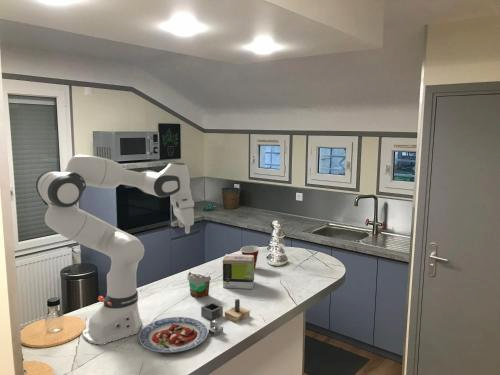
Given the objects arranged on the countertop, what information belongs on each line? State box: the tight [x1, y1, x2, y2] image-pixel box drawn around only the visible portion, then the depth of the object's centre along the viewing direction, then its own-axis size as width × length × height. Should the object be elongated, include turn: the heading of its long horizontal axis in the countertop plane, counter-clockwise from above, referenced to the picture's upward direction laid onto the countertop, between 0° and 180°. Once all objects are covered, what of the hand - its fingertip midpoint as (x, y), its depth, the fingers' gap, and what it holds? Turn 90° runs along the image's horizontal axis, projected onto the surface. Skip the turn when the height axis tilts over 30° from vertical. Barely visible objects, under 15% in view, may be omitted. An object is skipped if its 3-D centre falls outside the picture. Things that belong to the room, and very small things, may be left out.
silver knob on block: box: [208, 319, 224, 338], centre depth 158 cm, size 5×3×5 cm, turn 139°
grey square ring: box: [200, 301, 224, 321], centre depth 172 cm, size 6×6×4 cm
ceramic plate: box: [138, 316, 209, 354], centre depth 155 cm, size 26×26×3 cm
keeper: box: [224, 298, 251, 324], centre depth 171 cm, size 8×7×8 cm
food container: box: [186, 271, 212, 299], centre depth 191 cm, size 12×6×10 cm, turn 62°
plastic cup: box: [239, 245, 260, 270], centre depth 227 cm, size 11×11×12 cm
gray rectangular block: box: [209, 320, 214, 329], centre depth 164 cm, size 4×2×2 cm, turn 9°
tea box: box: [222, 253, 255, 290], centre depth 204 cm, size 15×10×15 cm, turn 84°
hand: (184, 229), depth 176 cm, fingers open, 8 cm apart
